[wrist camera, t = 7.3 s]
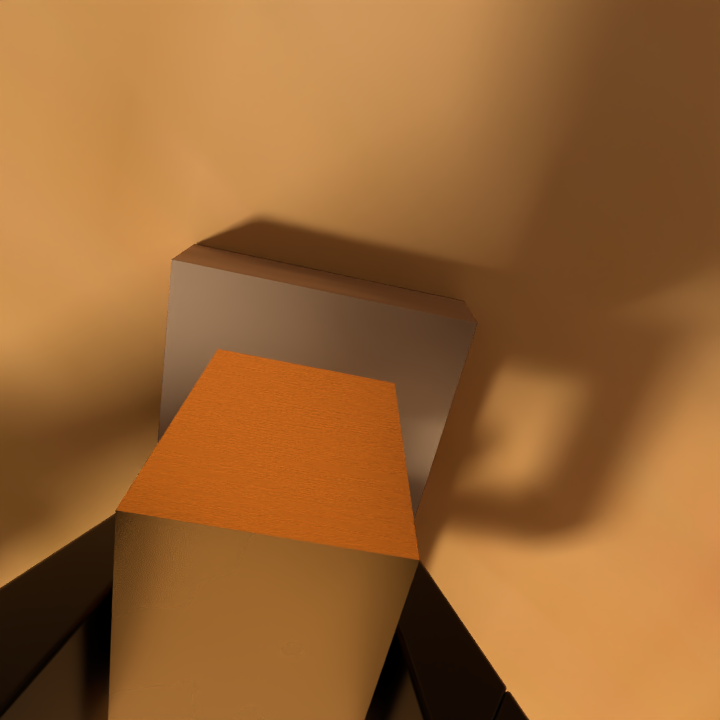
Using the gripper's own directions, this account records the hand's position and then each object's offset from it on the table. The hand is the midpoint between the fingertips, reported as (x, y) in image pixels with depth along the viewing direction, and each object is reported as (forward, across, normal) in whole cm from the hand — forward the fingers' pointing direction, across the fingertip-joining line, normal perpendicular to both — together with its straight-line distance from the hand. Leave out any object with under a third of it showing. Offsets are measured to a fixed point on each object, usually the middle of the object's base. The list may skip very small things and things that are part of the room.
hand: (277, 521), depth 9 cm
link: (+1, 0, +4) cm, 4 cm away
